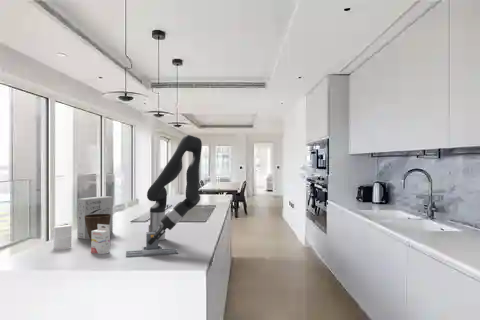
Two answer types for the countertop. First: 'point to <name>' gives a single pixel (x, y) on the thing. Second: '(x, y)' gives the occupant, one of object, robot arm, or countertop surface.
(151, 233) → the module
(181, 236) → the countertop surface
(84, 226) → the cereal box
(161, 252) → the rail
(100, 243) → the ink cartridge box
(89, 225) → the plant pot
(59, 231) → the white box
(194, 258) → the countertop surface
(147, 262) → the countertop surface
